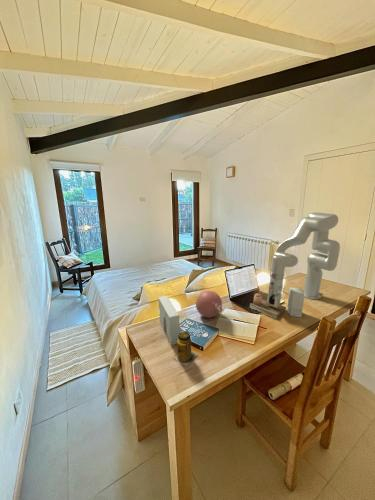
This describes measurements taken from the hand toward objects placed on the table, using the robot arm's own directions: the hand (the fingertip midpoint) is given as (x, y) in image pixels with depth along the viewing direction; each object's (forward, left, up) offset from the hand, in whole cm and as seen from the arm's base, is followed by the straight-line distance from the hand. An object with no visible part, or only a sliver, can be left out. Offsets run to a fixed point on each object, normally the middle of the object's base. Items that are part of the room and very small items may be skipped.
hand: (273, 302), depth 132 cm
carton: (0, 0, -2) cm, 2 cm away
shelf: (+1, -3, -5) cm, 6 cm away
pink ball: (+35, -22, -6) cm, 42 cm away
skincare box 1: (+61, -29, -6) cm, 68 cm away
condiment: (+67, -10, -6) cm, 68 cm away
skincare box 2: (-5, +11, -6) cm, 13 cm away
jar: (+4, -9, -3) cm, 10 cm away
